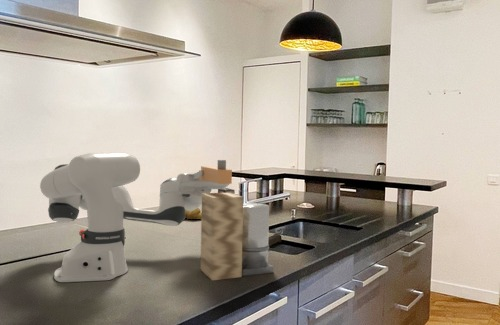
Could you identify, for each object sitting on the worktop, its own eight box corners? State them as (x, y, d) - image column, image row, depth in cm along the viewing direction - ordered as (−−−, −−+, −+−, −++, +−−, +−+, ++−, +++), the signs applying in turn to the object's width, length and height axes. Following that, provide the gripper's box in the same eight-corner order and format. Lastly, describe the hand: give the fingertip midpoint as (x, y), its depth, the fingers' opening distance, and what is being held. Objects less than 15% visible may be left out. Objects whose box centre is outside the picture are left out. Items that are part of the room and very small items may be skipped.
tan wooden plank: (218, 183, 141) (219, 160, 141) (200, 178, 158) (201, 158, 158) (231, 183, 143) (232, 160, 142) (212, 178, 160) (213, 158, 160)
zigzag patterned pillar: (212, 280, 137) (213, 198, 136) (200, 269, 148) (201, 193, 146) (241, 277, 141) (243, 197, 140) (228, 266, 152) (229, 192, 151)
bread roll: (206, 219, 242) (206, 204, 242) (196, 221, 234) (196, 207, 233) (187, 216, 248) (187, 202, 248) (176, 219, 240) (177, 205, 239)
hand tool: (273, 241, 192) (273, 231, 192) (281, 243, 190) (281, 232, 190) (252, 250, 176) (252, 239, 176) (261, 252, 174) (261, 240, 174)
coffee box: (216, 216, 252) (217, 188, 252) (226, 215, 256) (226, 187, 255) (224, 218, 245) (225, 190, 244) (234, 217, 249) (235, 189, 248)
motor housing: (242, 275, 142) (244, 208, 141) (230, 266, 152) (231, 203, 151) (274, 272, 147) (275, 207, 145) (259, 263, 157) (261, 202, 156)
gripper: (226, 194, 170) (238, 179, 159) (174, 195, 162) (183, 180, 150) (223, 179, 173) (235, 163, 161) (172, 180, 164) (181, 163, 153)
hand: (210, 171), depth 156 cm, fingers closed on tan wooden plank, 4 cm apart
